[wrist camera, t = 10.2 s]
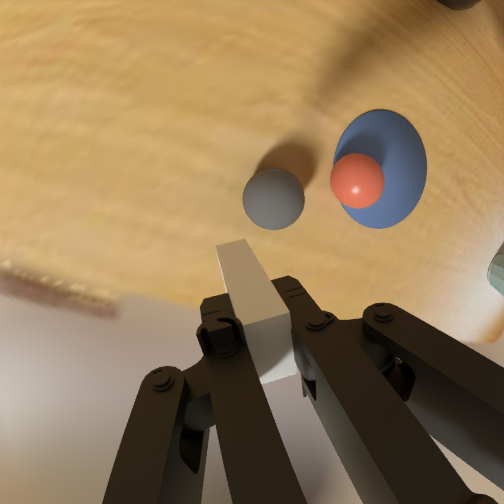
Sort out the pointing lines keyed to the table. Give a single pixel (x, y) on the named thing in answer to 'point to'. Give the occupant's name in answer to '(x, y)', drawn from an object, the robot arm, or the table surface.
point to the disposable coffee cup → (497, 273)
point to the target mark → (387, 165)
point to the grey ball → (273, 199)
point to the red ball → (357, 180)
